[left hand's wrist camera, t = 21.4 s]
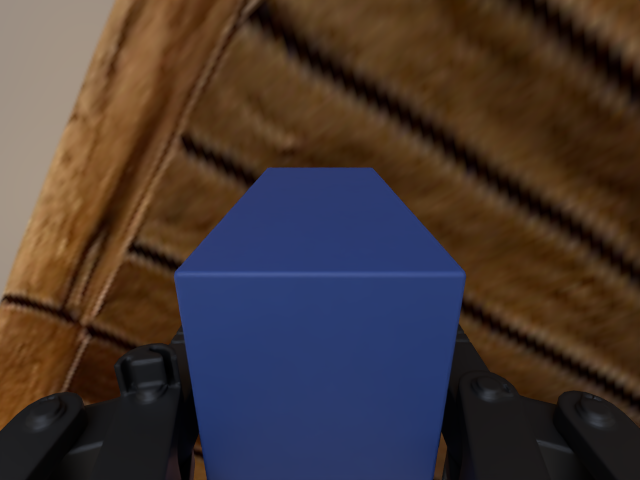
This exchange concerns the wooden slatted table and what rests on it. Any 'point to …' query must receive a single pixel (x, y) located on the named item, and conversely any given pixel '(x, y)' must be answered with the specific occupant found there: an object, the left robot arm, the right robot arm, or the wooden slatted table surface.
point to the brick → (320, 332)
